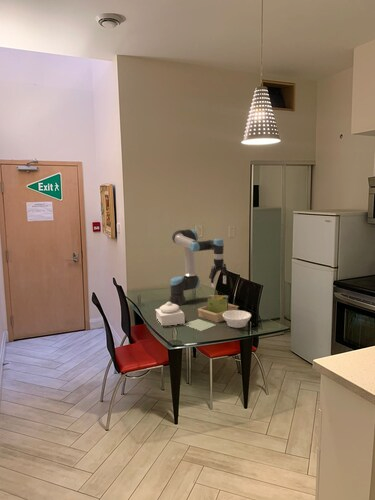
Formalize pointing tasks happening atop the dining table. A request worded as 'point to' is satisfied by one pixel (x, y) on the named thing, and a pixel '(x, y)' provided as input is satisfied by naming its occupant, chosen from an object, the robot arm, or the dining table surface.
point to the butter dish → (170, 314)
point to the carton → (213, 316)
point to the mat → (199, 324)
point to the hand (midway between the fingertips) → (218, 285)
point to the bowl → (236, 318)
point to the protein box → (217, 303)
